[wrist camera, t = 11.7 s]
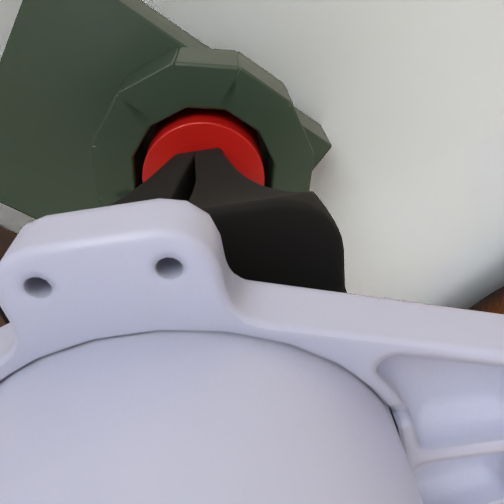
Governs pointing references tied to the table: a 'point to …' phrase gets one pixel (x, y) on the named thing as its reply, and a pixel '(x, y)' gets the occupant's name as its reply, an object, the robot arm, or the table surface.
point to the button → (205, 141)
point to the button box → (125, 103)
